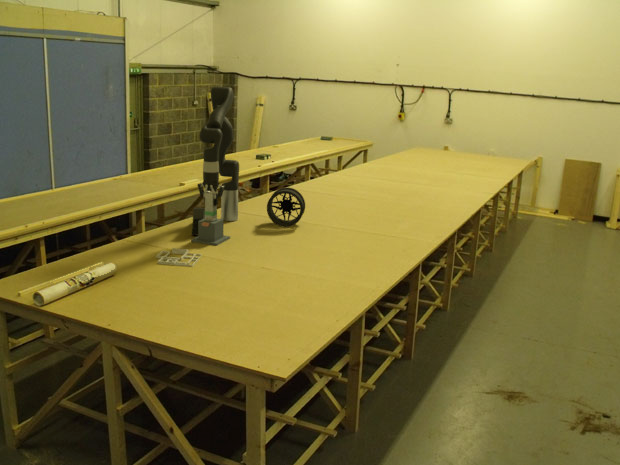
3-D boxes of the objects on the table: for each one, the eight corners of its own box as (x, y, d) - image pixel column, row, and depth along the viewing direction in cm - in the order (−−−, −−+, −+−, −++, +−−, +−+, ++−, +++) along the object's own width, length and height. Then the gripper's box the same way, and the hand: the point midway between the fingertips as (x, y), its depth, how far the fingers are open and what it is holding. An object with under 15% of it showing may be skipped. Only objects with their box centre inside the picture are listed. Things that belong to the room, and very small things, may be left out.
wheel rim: (304, 223, 340) (306, 188, 334) (302, 228, 331) (304, 191, 325) (268, 221, 341) (269, 186, 336) (266, 225, 333) (267, 189, 327)
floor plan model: (151, 250, 284) (151, 246, 283) (204, 254, 281) (204, 250, 281) (136, 263, 266) (136, 259, 265) (192, 267, 263) (192, 263, 263)
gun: (190, 234, 305) (192, 204, 305) (198, 236, 334) (199, 209, 335) (204, 235, 305) (205, 205, 306) (210, 236, 335) (211, 209, 335)
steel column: (209, 222, 303) (209, 191, 298) (216, 224, 301) (217, 192, 297) (204, 224, 299) (204, 192, 294) (212, 226, 297) (212, 193, 293)
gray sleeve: (205, 234, 311) (205, 215, 308) (230, 238, 306) (230, 218, 304) (191, 241, 298) (191, 221, 295) (216, 245, 294) (216, 225, 291)
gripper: (227, 170, 294) (227, 205, 299) (201, 167, 298) (201, 202, 303) (220, 173, 287) (220, 208, 292) (193, 170, 292) (194, 205, 296)
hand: (210, 205), depth 297 cm, fingers closed on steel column, 4 cm apart
